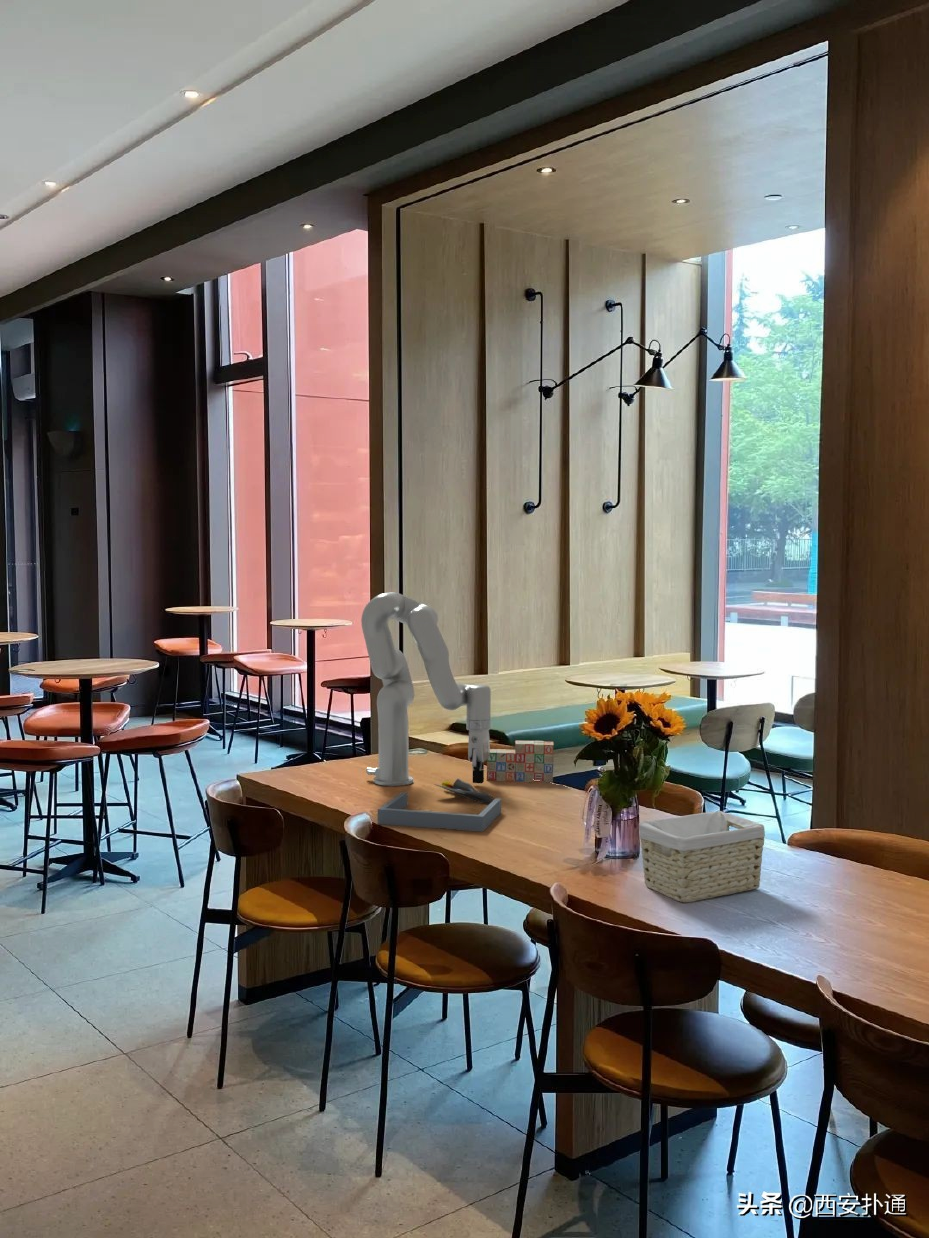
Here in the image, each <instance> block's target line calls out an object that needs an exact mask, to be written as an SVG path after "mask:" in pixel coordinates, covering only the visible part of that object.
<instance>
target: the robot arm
mask: <svg viewBox="0 0 929 1238" xmlns="http://www.w3.org/2000/svg"><path fill="white" fill-rule="evenodd" d="M361 613H362V615H361V620H360V621H361V629H362V634H363V637H364V638H363V639H364V641H365V647H366V650H367V654H368V658H369V663H370V668H371V672H372V673H373V675H374V676H375V677H377V678H378V679H380V680H381V682H382V685H383V686H382V688H381V689H380V690H379V691H378V694H377V696H376V697H377V698H376V710H377V723H378V724H377V725H378V727H377V728H378V730H377V731H378V733H377V734H378V767H375V768H373V767H367V768H366V772H365V773H366V775H367V776H371V775H373V776H375V777H374V778H373V783H374V784H376V785H379V786H385V787H386V786H388V787H397V786H398V787H399V786H408V785H411V784H413V783H414V778H413V777H412V775H411V776H410V775H409V748H410V747H409V742H410V741H409V735H410V734H409V713H408V707H409V706H410V705H411V704H412V703H413V701H414V698H415V689H414V685H413V681H412V677H411V673H410V669H409V665H408V662H407V658H406V656H405V655H404V654H403V652H402V651H401V650H400V649H398V648H396V647H395V645H394V641H393V640H394V639H393V635H392V633H391V630H390V628H389V622H390V621H391V620H394V621H397V622H399V623H402V624H404V625H405V626H407V628H408V630H409V632H410V634H411V636H412V639H413V641H414V643H415V645H416V647H417V649H418V652H419V654H420V656H421V658H422V660H423V665H424V668H425V670H426V674H427V677H428V680H429V684H430V686H431V688H432V690H433V692H434V694H435V697H436V699H437V701H438V703H439V704H440V705H441V707H442V708H444V709H445V710H447V711H455V710H458V709H460V707H461V708H462V706H463V707H466V723H465V724H466V728H465V729H466V730H467V731H468V745H467V746H468V748H467V750H468V751H467V756H468V761H469V762H470V763H471V762H472V763H471V766H472V783H473V784H484V782H485V781H484V779H485V776H484V775H485V774H484V773H485V770H484V768H485V767H484V766H485V763H486V762H487V759H488V758H489V757H490V749H491V747H490V746H491V744H490V743H491V742H490V741H491V740H490V730H491V702H492V701H491V692H492V691H491V688H490V686H489V685H486V684H467V683H466V684H465V683H460V682H456V680H455V677H454V675H453V673H452V670H451V669H452V668H451V666H450V659H449V658H450V654H449V653H450V652H449V647H448V645H447V644H446V641H445V639H444V637H443V635H442V632H441V630H440V629H439V627H438V620H439V619H438V614H437V612H436V611H435V609H434V608H432V607H431V606H429V605H427V604H424V603H423V602H419V601H417V600H415V599H413V598H412V597H411V598H410V597H408V596H406V595H403V594H402V593H399V592H394V591H391V592H384V593H380V594H377V595H376V596H374V597H373V598H372V599H371V600H369V602H367V604H366V605H365V607H364V609H363V610H362V612H361Z"/></svg>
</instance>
